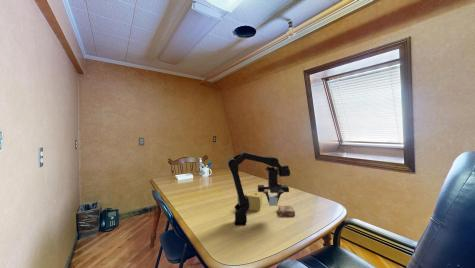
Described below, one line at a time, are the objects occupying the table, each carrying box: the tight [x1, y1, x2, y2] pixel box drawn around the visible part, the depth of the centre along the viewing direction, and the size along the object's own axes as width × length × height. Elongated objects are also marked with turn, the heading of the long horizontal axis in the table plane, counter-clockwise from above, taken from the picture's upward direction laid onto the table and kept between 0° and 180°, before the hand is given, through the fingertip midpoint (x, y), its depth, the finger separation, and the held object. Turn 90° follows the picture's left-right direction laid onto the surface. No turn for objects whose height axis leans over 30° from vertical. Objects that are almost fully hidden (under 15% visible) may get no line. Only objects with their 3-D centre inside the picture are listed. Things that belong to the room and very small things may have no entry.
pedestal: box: [278, 205, 296, 217], centre depth 128 cm, size 9×9×3 cm
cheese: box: [245, 191, 264, 212], centre depth 137 cm, size 10×11×10 cm
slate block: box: [268, 194, 279, 207], centre depth 119 cm, size 5×5×5 cm
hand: (272, 202), depth 119 cm, fingers closed on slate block, 5 cm apart
